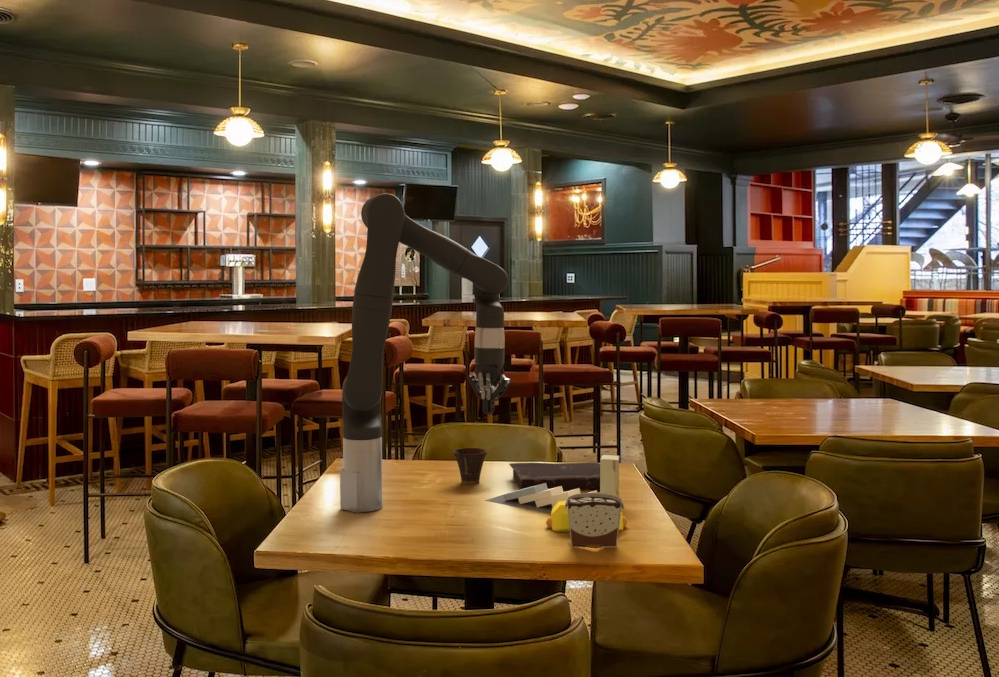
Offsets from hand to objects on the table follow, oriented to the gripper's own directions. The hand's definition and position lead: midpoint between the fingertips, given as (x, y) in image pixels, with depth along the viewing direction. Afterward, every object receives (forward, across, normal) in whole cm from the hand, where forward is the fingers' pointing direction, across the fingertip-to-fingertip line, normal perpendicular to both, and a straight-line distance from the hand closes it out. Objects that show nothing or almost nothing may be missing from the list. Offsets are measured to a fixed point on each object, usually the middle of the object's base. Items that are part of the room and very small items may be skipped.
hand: (488, 414), depth 213 cm
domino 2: (+20, +12, 0) cm, 23 cm away
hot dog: (+21, +35, -9) cm, 42 cm away
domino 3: (+20, +17, 0) cm, 26 cm away
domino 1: (+20, +7, 0) cm, 21 cm away
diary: (+22, +7, +22) cm, 32 cm away
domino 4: (+19, +22, 0) cm, 29 cm away
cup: (+22, -12, +7) cm, 26 cm away
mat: (+21, +16, 0) cm, 26 cm away
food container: (+21, +41, -16) cm, 49 cm away
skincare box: (+21, +29, +11) cm, 38 cm away
